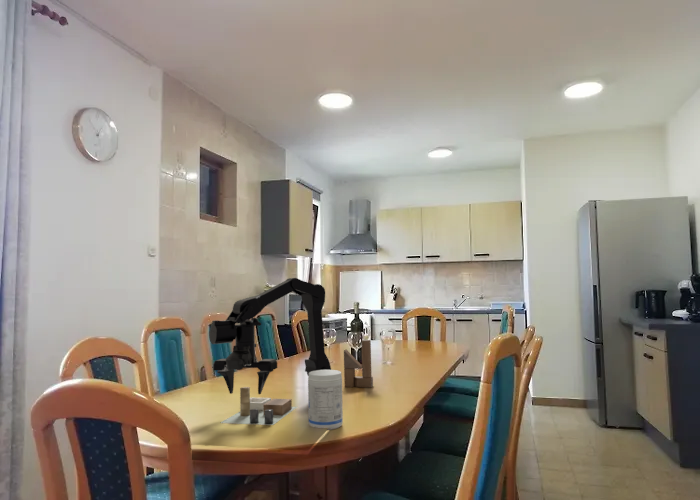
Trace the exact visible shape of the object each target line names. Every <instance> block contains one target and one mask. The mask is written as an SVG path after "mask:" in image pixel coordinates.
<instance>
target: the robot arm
mask: <svg viewBox="0 0 700 500" xmlns="http://www.w3.org/2000/svg"><path fill="white" fill-rule="evenodd" d="M291 293H294V294H296V295H298V296H300V297H301V301H302V305H303V306H304V308H305V310H306V312H307V313H306V314H307V325H308V326H307V327H308V339H309V341H308V342H309V351H310V352H309V357H308V359H307V358H305V359H304V364H305V365H304V366H305V369H304V372H305V373H306V374H307V377H309V372H311V371H316V370H332V367H331V363H330V360H329V357H328V356H327V354H326V351H325V349H326V348H325V338H324V337H325V335H324V326H323V325H324V324H323V313H322V312H323V311H322V310H323V307H324V305H325V301H326V288H325V287H324V286H323V285H322V284H320V283H311V282H308V281H305V280H302V279H299V278H297V277H291V278H290V277H288V278H286V279H285V280H284V281H282V282H280V283H278V284H276V285H274V286H272V287H271V288H268V289H267V290H265V291H263V292H261V293H258V294H257V295H254V296H250V297H245V298H243V299H239V300H236V302H234V304H233V307H232V311H231V312H230V314H229V315H228V317H227V318H226V319H225V320H212V322H211V323H212V324H211V326H210V329H209V332H208V337H209V341H210V344H211V345H220V344H228V343H233V342H235V344H234V345H233V348H232V351H231V352H232V353H229V355H228V356H227V357H226V358H220V359H217V360H214V362H213V364H212V370H213V371H216V373H217V374H219V375H221V376H222V377H223V379H224V381H225V385H226V386H227V387H226V388H227V389H228V392H229V394H233V393H234V383H235V381H234V380H235V370H236V371H240V370H243V369H246V368H248V369H249V368H250V369H257V370H259V371H257V372H256V373H257V376H258V377H257V378H258V382H257V394H258V395H261V394H262V392H263V389H264V386H265V384H266V382H267V379H268V377H269V375H270V374H271V373H272V372H274V370H276V369H278V361H277V360H276V359H275V358H263V359H261V360H259V361H257V357H256V354H255V353H256V352H255V351H256V349H255V348H257V343H256V342H255V340H256V339H255V336H256V335H255V329H256V328H255V327H256V326H257V327H258V326H261V325H262V323H261V322H260V321H259V320H258V319H257V317H256V316H257V315H258V314H260V313H261V312H262V311H263V309H264V308H265V307H267V306H269V305H270V304H272V303H274V302H275V301H277V300H279V299H282V298H283V297H285V296H286V295H288V294H291Z"/></svg>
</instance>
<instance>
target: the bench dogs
mask: <svg viewBox="0 0 700 500" xmlns="http://www.w3.org/2000/svg"><path fill="white" fill-rule="evenodd" d="M264 412H265V424H273V410H272V409H268V410H265V411H264ZM250 423H251V424H250V425H257V424H256V423H259V409H251V410H250Z"/></svg>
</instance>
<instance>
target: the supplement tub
mask: <svg viewBox="0 0 700 500" xmlns="http://www.w3.org/2000/svg"><path fill="white" fill-rule="evenodd" d="M342 375H343V374H342V371H340V370H337V369H331V370H316V371H311V372H309V376H307V377H308V378H307V380H308V381H307V391H308V392H307V393H308V395H307V396H308V397H307V398H308V400H307V401H308V403H307V404H308V426H310V427H313V428H319V429H324V428H325V429H326V428H327V429H326V431H330V430H336V429H339V428H340V427H342V425H343V424H344V422H343V419H344V418H343V416H344V414H343V376H342Z"/></svg>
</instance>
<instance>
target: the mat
mask: <svg viewBox="0 0 700 500" xmlns="http://www.w3.org/2000/svg"><path fill="white" fill-rule="evenodd" d="M297 408H298V406H292V409H291V410H289V411H288V412H287V413H285V414H284V415H283V416H282V415H273V424H265V415H264V411H259V423H256V424H255V425H259V426H260V425H262V426H274V425H275V424H277V423H278V422H279V421H281V420H282V419H284V418H285V417H286V416H287V415H289V414H290V413H292V412H294V410H296V409H297ZM220 424H232V425H233V424H235V425H236V424H238V425H252V424H251V423H250V415H249V416H240V411H238V412H236V413H235V414H233V415H231V416H229V417H228V418H226V419H224V420H222V421H221V422H220Z"/></svg>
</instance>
